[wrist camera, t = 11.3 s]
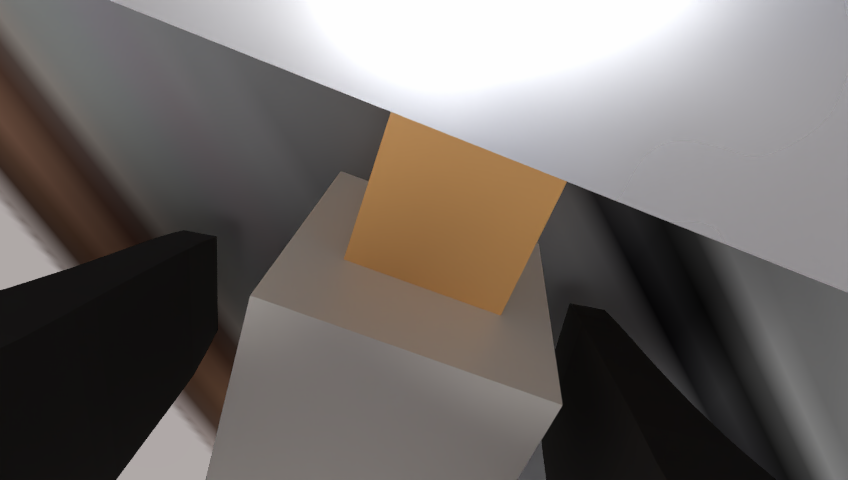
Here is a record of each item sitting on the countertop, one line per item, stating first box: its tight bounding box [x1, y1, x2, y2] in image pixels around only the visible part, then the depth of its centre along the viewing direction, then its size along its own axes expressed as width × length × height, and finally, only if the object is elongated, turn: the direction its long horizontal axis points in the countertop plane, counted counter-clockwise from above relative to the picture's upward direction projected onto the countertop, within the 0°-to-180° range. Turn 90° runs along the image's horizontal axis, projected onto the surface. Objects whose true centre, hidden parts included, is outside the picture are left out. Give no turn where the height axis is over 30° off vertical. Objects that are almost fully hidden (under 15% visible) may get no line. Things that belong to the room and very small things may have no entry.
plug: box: [206, 112, 567, 480], centre depth 7 cm, size 4×17×4 cm, turn 161°
